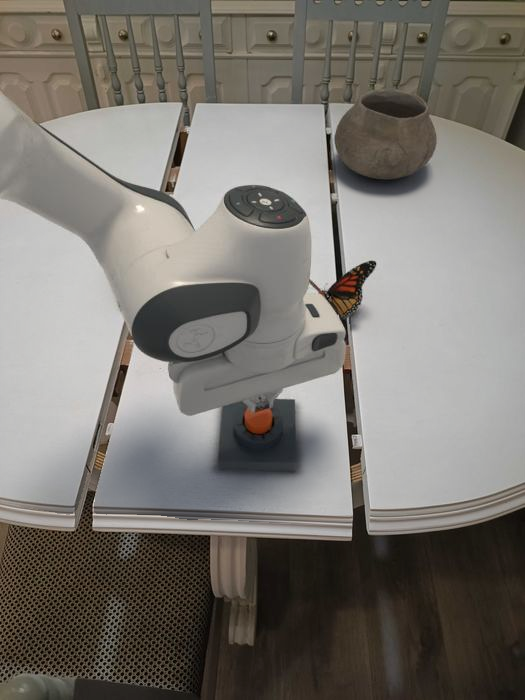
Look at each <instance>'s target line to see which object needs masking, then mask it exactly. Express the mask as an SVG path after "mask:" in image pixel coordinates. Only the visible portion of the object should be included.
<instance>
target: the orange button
mask: <svg viewBox="0 0 525 700" xmlns="http://www.w3.org/2000/svg"><path fill="white" fill-rule="evenodd" d="M272 417H273V415H272V411H271V410H270V409H265V410H262V411H259V412H256V413H253V414H251V413H250V411H249V409H247V410H246V412H245V426H246V428H247V429H248V430H249V431H250V432H252V433H254V434H263V433H265V432H267V431H268V430H269V429H270V428H271V426H272Z"/></svg>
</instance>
